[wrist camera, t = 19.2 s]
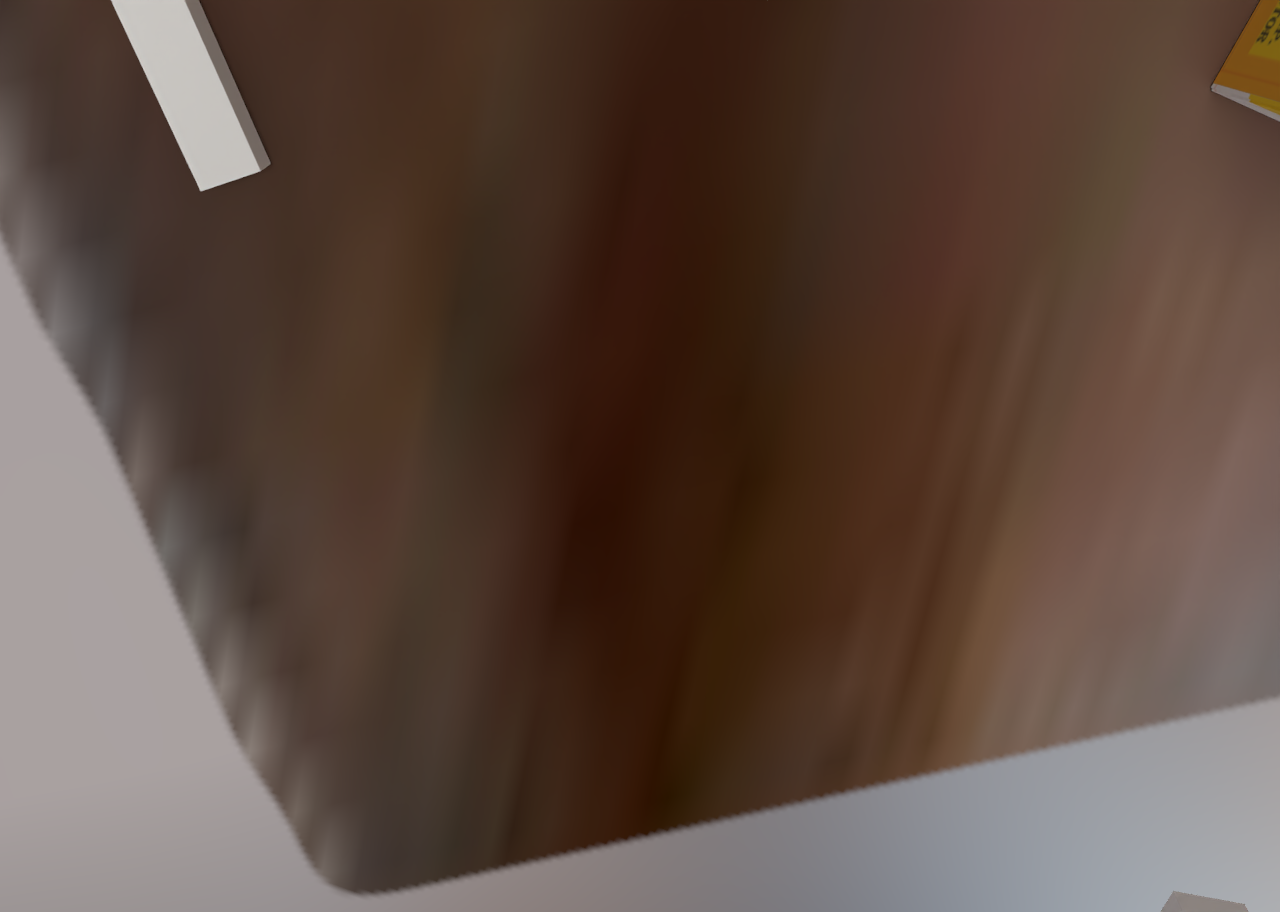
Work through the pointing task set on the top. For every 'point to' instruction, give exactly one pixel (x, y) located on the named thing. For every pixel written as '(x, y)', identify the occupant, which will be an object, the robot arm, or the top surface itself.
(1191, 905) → the robot arm
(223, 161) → the guide track
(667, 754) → the top surface
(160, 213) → the top surface
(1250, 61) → the packaging box
